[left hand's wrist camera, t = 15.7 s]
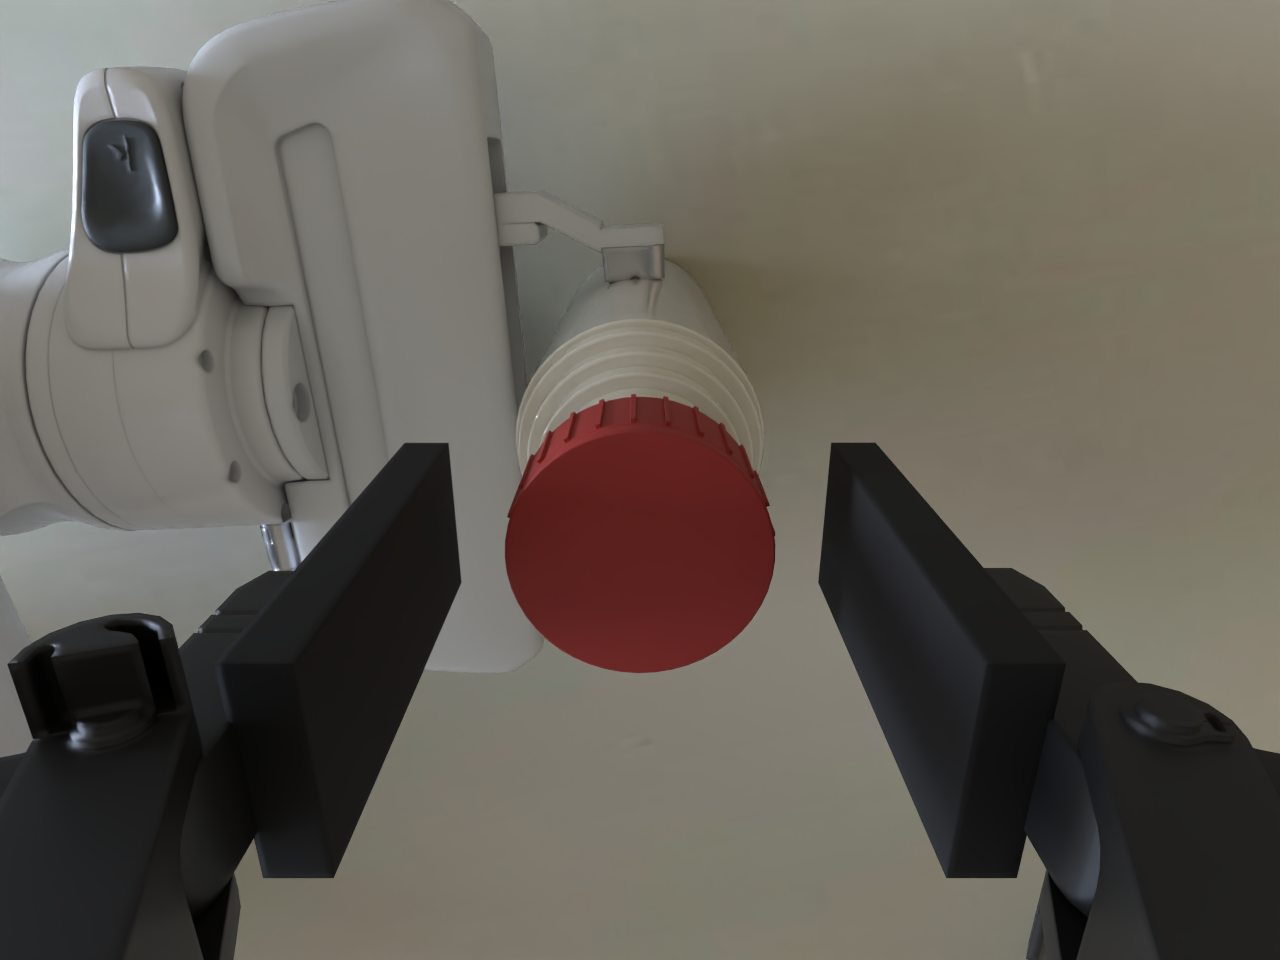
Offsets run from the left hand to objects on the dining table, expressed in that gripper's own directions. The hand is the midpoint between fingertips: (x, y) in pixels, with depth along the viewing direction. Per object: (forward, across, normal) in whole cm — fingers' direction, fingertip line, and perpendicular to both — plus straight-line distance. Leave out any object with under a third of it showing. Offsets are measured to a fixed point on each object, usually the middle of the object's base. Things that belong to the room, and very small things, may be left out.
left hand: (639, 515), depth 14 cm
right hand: (+11, -1, 0) cm, 11 cm away
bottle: (+18, 0, 0) cm, 18 cm away
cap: (-1, 0, 0) cm, 1 cm away
